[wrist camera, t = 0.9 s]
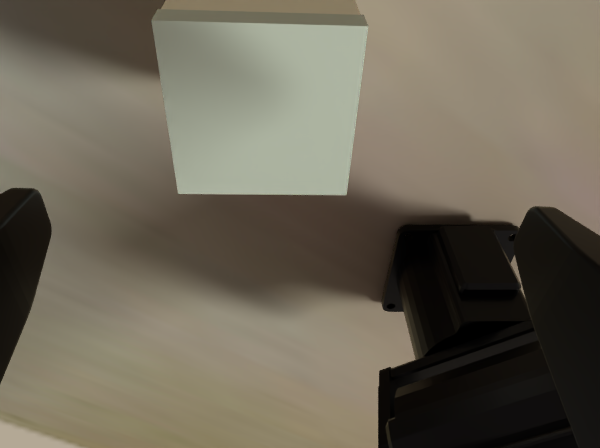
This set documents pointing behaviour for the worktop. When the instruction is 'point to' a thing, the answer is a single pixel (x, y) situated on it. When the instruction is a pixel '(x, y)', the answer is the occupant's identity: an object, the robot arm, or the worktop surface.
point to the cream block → (261, 93)
